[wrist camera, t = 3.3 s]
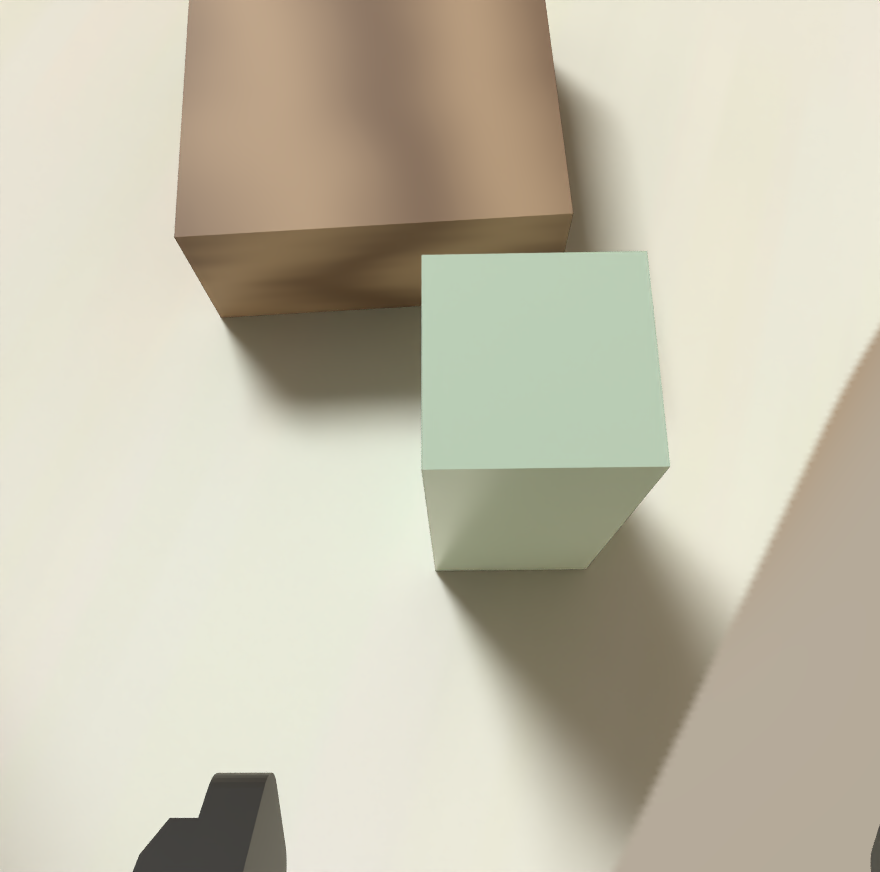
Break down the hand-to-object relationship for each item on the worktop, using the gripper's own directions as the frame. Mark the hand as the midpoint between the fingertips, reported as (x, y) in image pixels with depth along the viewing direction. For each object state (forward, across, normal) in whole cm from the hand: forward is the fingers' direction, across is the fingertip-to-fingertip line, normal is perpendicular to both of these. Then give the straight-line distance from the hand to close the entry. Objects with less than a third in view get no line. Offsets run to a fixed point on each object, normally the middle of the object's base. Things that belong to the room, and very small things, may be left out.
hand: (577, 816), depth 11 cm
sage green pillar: (+14, 0, +3) cm, 14 cm away
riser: (+23, +4, -5) cm, 24 cm away
